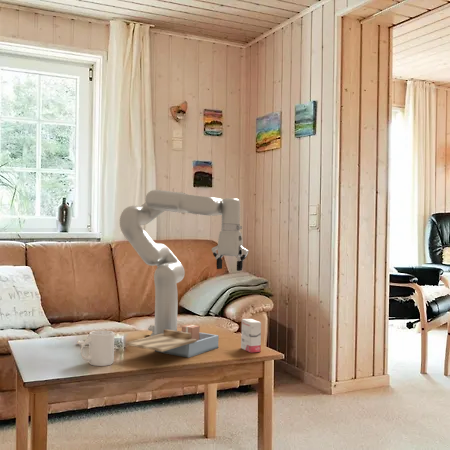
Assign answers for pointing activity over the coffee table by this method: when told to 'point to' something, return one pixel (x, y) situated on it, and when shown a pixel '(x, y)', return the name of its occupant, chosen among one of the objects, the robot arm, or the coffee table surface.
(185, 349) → the blue open box
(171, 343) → the lid
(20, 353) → the coffee table surface
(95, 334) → the mug
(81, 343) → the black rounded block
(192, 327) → the parcel
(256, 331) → the ink box
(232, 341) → the coffee table surface
